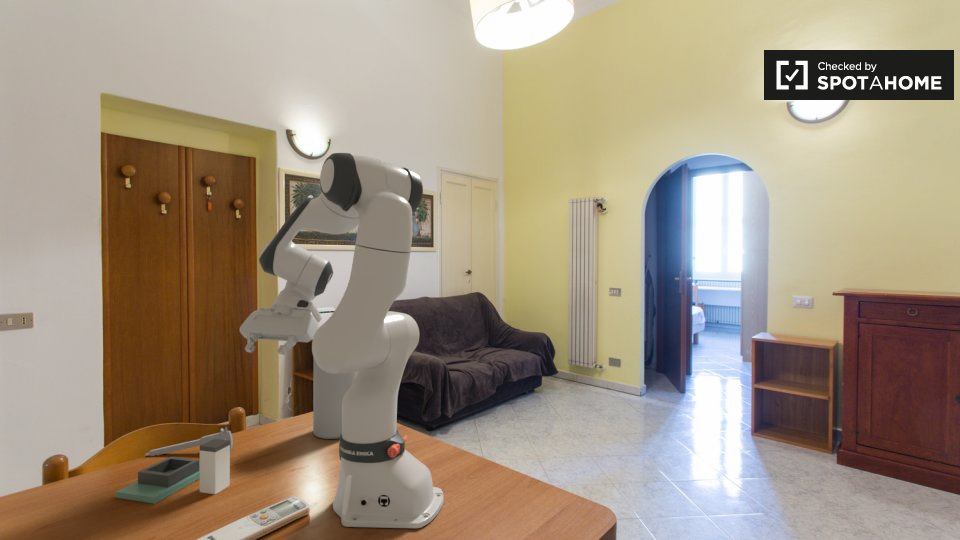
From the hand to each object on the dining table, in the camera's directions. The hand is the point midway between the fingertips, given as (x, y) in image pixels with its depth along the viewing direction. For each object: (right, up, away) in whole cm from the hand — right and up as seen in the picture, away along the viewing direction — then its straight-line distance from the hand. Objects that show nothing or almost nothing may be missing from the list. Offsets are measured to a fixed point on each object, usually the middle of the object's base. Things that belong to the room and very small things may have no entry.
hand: (264, 352), depth 112 cm
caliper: (-21, -27, +3) cm, 35 cm away
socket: (-15, -27, -12) cm, 33 cm away
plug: (-4, -27, -15) cm, 31 cm away
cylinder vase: (+12, -27, +19) cm, 35 cm away
